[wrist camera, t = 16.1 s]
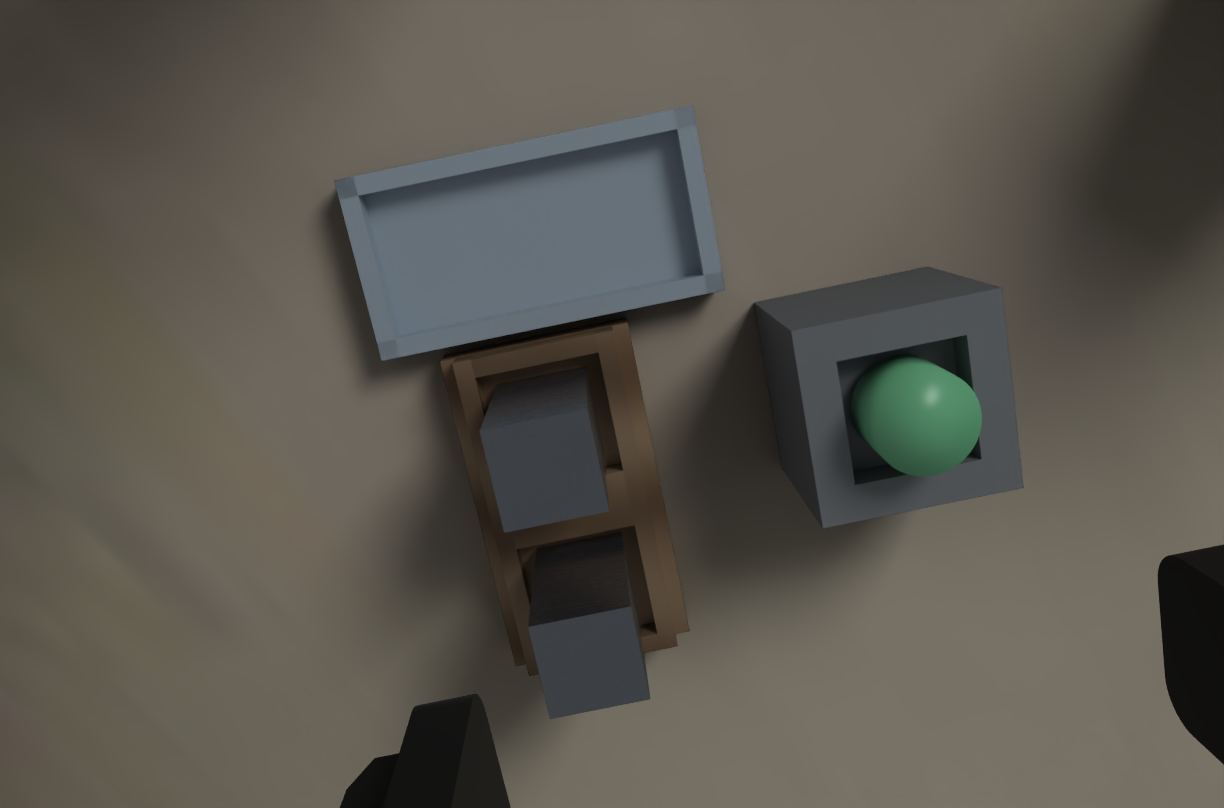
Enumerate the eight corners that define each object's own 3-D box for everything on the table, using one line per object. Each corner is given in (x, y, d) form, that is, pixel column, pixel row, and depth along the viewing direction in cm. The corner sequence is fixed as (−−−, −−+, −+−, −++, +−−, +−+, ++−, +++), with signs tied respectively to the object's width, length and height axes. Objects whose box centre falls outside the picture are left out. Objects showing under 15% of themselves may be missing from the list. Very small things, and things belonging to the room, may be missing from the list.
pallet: (444, 355, 45) (436, 367, 42) (626, 317, 45) (629, 327, 42) (517, 651, 48) (514, 678, 46) (686, 617, 48) (692, 643, 46)
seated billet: (496, 384, 44) (479, 431, 36) (585, 366, 44) (587, 408, 36) (516, 469, 45) (504, 532, 37) (603, 451, 45) (609, 511, 37)
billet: (536, 548, 46) (527, 627, 38) (621, 531, 46) (630, 606, 38) (554, 626, 47) (550, 719, 39) (638, 610, 47) (650, 699, 39)
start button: (843, 365, 39) (865, 382, 36) (945, 345, 38) (975, 359, 36) (858, 462, 39) (880, 486, 37) (957, 442, 39) (987, 464, 37)
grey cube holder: (754, 302, 45) (791, 331, 37) (928, 266, 45) (1001, 287, 37) (782, 468, 47) (823, 528, 39) (949, 434, 47) (1023, 487, 39)
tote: (344, 179, 43) (334, 180, 41) (688, 107, 43) (692, 105, 41) (389, 353, 45) (381, 360, 43) (719, 285, 45) (725, 289, 43)
